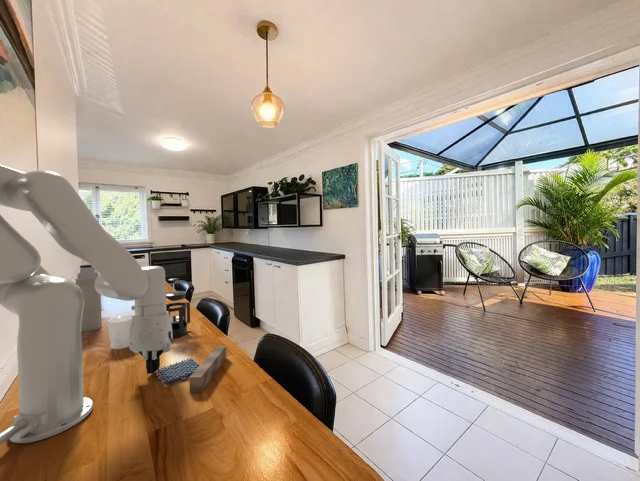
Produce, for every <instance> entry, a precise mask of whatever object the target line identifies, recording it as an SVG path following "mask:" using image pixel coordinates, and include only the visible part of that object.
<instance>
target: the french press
mask: <svg viewBox="0 0 640 481" xmlns="http://www.w3.org/2000/svg"><path fill="white" fill-rule="evenodd" d="M178 280H180V278H177V277H174V278H173V277H172V278H168V279H167V281H171V283H172V291H168V292H167V291H166V300H169V301H171V303H166V311H168V312H169V315H170V319H171V325H172V334H173V340H174V339H179V338H181V337H184V336H186V335H187V334H188V332H189V331H188V324H190V323H191V305H190V304H191V303H190V302H189V301H188V302H187V301H186V302H178V301H180V300H184V299H185V298H186V294H187V291H184V290H175V283H176V281H178ZM175 301H177V302H175ZM176 306H177V307H176ZM178 306H179V307H178ZM171 307H172V308H171ZM172 312H173V316H171V313H172ZM176 312H178V315H175V314H176Z"/></svg>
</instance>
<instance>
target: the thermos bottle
mask: <svg viewBox="0 0 640 481" xmlns="http://www.w3.org/2000/svg"><path fill="white" fill-rule="evenodd" d="M79 268H80V269H79V272H78V273H77V275H76V277H77V278H75V282H74V283H76V284H77V285H78V286H79V287H80V289H81V290H82V292H83V295H84V308H83V314H82V323H81V333H83V332H90V331H95V330H98V329H100V328H101V327H102V326H103V324H102V304H101V302H102V301H101V298H102V295H101V294H99V293H98V292H97V291H96V289H95V287H94V283H95V280H96V278H97V277H98V276H99V272H98V271H97V270H96V269H95V268H94V267H92V266H91V265H90V264H82V265H79Z"/></svg>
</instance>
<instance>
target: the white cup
mask: <svg viewBox="0 0 640 481" xmlns="http://www.w3.org/2000/svg"><path fill="white" fill-rule="evenodd" d="M132 316H133V314H132V315H130V314H128V315H120V316H117V317H113V318H110V319H108V321H107V325H108V334H109V336H108V337H109V341H110V348H111V349H112V350H121V349H125V348H129V331H130V324H131V319H132Z"/></svg>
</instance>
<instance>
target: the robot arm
mask: <svg viewBox="0 0 640 481" xmlns="http://www.w3.org/2000/svg"><path fill="white" fill-rule="evenodd" d="M0 206H3V207H7V208H12V209H16V210H19V211H25V212H30V213H31V214H32V215H33V216H34V217H35V218H36V219H37V220H38V221H39V223H40V224H41V225H42V226H43V227H44V229H45V230H46V231H47V232H48V234H50V236H51V237H52V238H53V240H54V241H55V242H56V244H58V246H60V248H62V249H63V250H65V251H66V252H67V253H69V254H71V255H72V256H74V257H77V258H79V259H80V260H82V261H84V262H86V263H87V264H88V265H91V266H92V267H94V268H95V271H97V272H98V277H97V278H96V280H95V283H94V287H95V289H96V291H97V292H98V293H99V294H101V296H103V297H106V298H110V299H116V300H120V301H126V302H131V301H134V305H131V310H132V311H134V315H133V314H132V315H133V316H132V319H131V324H130V331H129V347H128V348H129V350H130V351H132V353H135V354H140V355H141V356H142V358H143V360H144V361H145V369H146V374H147V375H150V374H151V375H153V374H154V373H155V374H156V372H157V370H158V368H159V369H160V368H161V361H160V360H161V356H162V355H163V353H168V352H170V351H171V350H172V349H173V346H172V343H173V340H174V339H173V334H172V325H171V319H170V317H171V314H170V315H169V312H168V311H166V304H167V298H166V293H167V290H166V288H167V287H166V271H165V268H164V267H163V266H159V265H149V266H141V265H140V264H139V261H137V260H136V258H135V257H134V256H133V255H132V253H131V252H130V251H129V250H128V249H127V248H125V246H124V245H122V244H121V243H120V242H119V241H118V240H116V239H115V237H113V236H112V234H110V233H108V231H107V230H105V229H104V227H103V226H102V225H101V223H100V222H99V221H98V219H96V217H95V215H94V214H93V213H92V211H91V210H90V209H89V207H88V206H87V205H86V203H85V202H84V200H83V199H82V197H81V196H80V195H79V193H78V192H77V191H76V189H75V188H74V187H73V185H72V184H71V183H70V181H68V180H67V179H66V178H65V177H64V176H63V175H61V174H59V173H57V172H55V171H50V170H33V171H29V172H24V171H20V170H17V169H14V168H11V167H8V166H5V165H2V164H0ZM41 262H42V258H41V255H40V252H39V251H38V250H37V248H36V247H35V246H34V245H33V244H32V243H31V242H29V241H28V240H27V239H26V238H25V237H24V236H22V235H21V234H20V233H19V231H17V230H16V229H15V228H14V227H13V226H12V225H11V224H10V223H9V222H8V221H7V220H6V219H4V217H3V216H2V215H1V214H0V306H2V307H3V308H4V309H6V310H7V311H9V312H10V313H12V314H14V315H17V316H18V328H17V329H18V330H17V337H16V339H17V340H16V341H17V342H16V353H17V356H16V357H17V369H18V370H17V371H18V396H19V413H18V414H17V415H14V416H13V423H11V424H10V425H9V426H8V428H6V429H5V430H3V431H1V432H0V446H1V445H4V443H6V442H8V441H10V442H12V443H14V444H28V443H29V444H30V443H34V442H38V441H42V440H44V439H48V438H51V437H53V436H57V435H58V434H61V433H62V432H65V431H67V430H68V429H71V428H72V427H75V426H76V425H77V424H79V423H80V422H82V420H84V419H85V418H86V417H88V416H89V414H91V412H92V410H93V407H94V402H93V400H92V399H91V398H90V397H86V396H85V397H84V373H83V370H84V369H83V342H82V332H81V323H82V314H83V308H84V295H83V292H82V290H81V289H80V287H79V286H78V285H77V284H76V283H75V282H74V281H72V280H70V279H68V278H65V277H59V276H55V275H51V274H50V273H49V272H48V271H47V270H46V269H45V268H44V267H43V266H42V265H41Z"/></svg>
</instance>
